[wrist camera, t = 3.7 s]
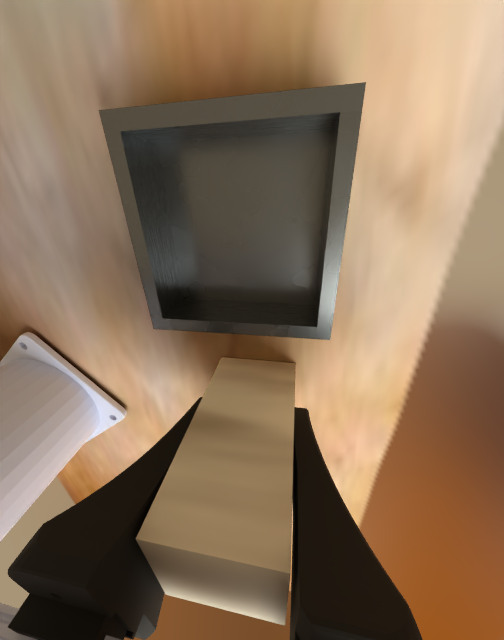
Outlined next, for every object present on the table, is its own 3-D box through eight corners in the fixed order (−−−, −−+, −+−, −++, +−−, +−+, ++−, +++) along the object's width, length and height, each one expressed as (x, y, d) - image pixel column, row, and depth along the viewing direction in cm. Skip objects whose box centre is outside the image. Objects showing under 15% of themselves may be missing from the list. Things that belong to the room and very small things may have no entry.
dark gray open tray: (324, 310, 11) (330, 339, 9) (179, 304, 12) (153, 328, 10) (347, 112, 8) (365, 82, 6) (147, 130, 9) (98, 110, 7)
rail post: (292, 416, 14) (284, 625, 8) (227, 409, 15) (165, 594, 8) (295, 362, 13) (290, 573, 6) (221, 357, 13) (135, 538, 6)
